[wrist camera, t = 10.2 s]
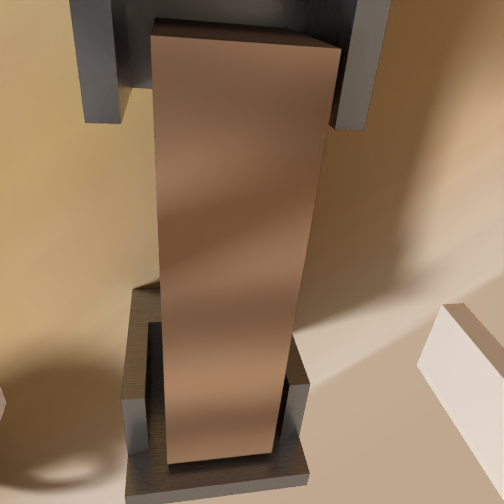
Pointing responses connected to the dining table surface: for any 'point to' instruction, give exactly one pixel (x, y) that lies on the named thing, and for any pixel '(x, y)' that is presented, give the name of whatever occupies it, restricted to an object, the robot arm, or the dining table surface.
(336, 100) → the bracket
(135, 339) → the bracket
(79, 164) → the dining table surface
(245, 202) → the rail
